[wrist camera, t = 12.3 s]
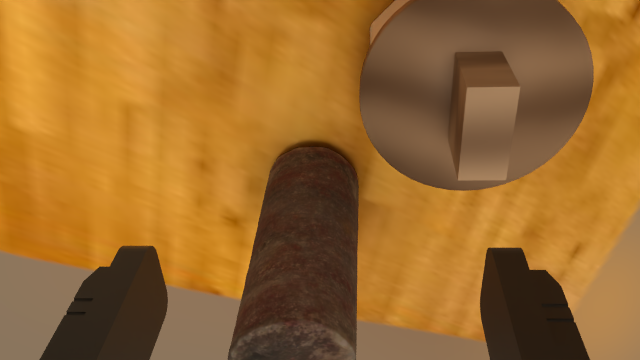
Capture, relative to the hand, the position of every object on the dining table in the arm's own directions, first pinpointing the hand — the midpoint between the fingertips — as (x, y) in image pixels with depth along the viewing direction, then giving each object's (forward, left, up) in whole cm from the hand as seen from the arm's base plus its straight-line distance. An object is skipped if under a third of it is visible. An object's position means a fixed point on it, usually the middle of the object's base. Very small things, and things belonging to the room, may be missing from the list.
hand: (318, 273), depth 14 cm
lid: (+7, +8, -25) cm, 27 cm away
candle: (+17, -3, -30) cm, 35 cm away
